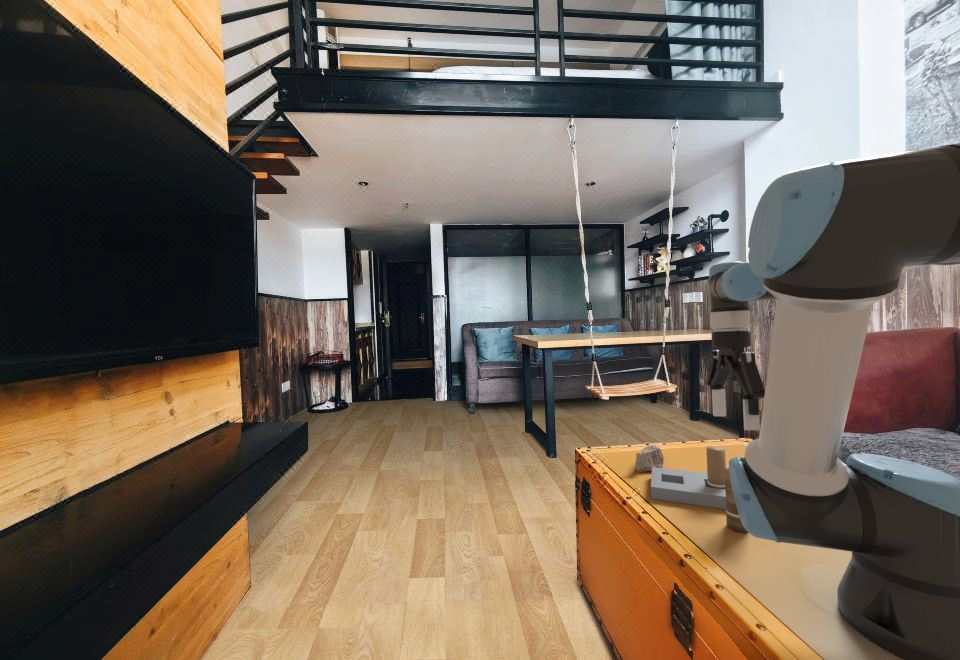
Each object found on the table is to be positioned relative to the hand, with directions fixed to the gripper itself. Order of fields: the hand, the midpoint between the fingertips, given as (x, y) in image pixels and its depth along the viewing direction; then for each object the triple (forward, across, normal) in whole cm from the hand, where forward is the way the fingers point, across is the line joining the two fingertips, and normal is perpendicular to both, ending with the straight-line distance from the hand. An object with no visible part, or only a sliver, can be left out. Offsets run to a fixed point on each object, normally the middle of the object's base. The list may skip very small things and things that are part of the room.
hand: (734, 422), depth 86 cm
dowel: (+21, -7, +4) cm, 22 cm away
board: (+20, +10, +5) cm, 23 cm away
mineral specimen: (+20, +28, +11) cm, 36 cm away
